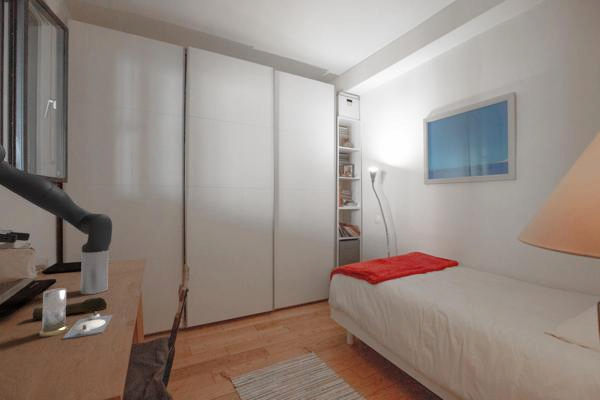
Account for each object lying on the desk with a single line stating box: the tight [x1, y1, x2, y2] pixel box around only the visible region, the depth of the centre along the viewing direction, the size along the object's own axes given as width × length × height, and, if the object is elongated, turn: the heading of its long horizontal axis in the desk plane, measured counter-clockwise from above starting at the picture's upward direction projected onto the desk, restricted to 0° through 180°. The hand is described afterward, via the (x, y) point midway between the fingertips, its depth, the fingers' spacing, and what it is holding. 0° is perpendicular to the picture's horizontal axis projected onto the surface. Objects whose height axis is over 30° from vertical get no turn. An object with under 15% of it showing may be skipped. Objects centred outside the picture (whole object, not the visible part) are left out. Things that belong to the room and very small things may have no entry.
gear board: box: [62, 311, 114, 340], centre depth 80 cm, size 13×9×2 cm
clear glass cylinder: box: [39, 287, 69, 338], centre depth 77 cm, size 6×6×12 cm
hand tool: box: [32, 296, 108, 322], centre depth 89 cm, size 19×4×5 cm, turn 117°
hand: (22, 238), depth 75 cm, fingers open, 8 cm apart
